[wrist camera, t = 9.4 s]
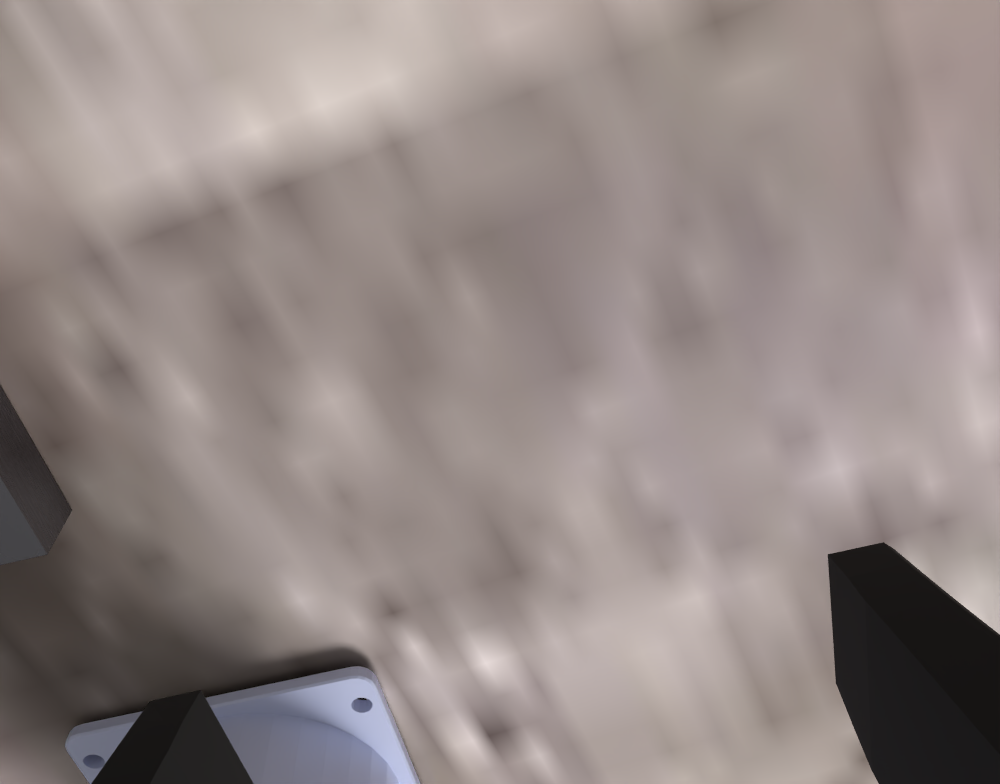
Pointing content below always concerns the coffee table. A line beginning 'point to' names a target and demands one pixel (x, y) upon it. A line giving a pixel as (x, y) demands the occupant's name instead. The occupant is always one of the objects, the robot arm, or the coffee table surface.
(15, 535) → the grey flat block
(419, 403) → the coffee table surface
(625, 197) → the coffee table surface
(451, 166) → the coffee table surface
